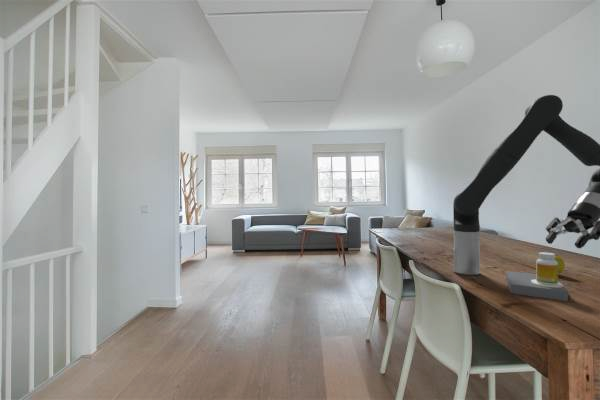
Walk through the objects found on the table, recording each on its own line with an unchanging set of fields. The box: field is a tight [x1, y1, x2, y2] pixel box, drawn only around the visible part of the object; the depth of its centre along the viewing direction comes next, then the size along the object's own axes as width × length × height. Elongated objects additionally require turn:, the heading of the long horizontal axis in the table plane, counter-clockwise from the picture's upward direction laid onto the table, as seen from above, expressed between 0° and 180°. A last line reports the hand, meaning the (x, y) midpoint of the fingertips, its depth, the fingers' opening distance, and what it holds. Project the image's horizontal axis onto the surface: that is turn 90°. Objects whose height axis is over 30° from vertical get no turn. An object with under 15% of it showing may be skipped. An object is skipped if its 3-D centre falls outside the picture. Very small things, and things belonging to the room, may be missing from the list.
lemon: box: [554, 254, 566, 275], centre depth 113 cm, size 6×6×8 cm
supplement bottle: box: [535, 251, 559, 285], centre depth 94 cm, size 5×5×10 cm
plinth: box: [505, 270, 569, 302], centre depth 98 cm, size 14×18×3 cm
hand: (562, 244), depth 95 cm, fingers open, 8 cm apart
